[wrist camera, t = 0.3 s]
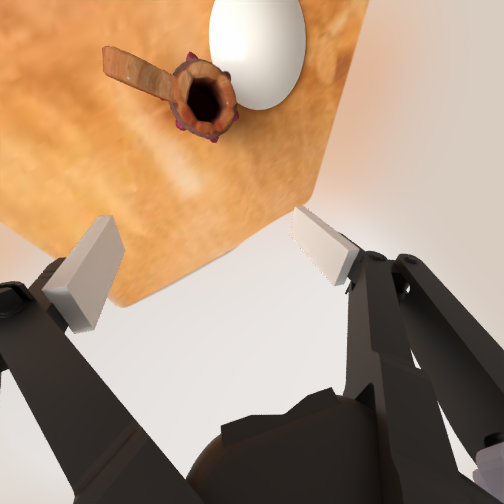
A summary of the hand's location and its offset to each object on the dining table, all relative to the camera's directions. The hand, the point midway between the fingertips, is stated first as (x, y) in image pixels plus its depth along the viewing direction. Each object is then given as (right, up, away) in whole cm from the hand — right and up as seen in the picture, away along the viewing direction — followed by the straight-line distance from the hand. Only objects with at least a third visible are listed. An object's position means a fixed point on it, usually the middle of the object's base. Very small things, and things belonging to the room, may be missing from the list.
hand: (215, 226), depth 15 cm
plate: (+4, +29, +16) cm, 33 cm away
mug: (-9, +22, +16) cm, 29 cm away
